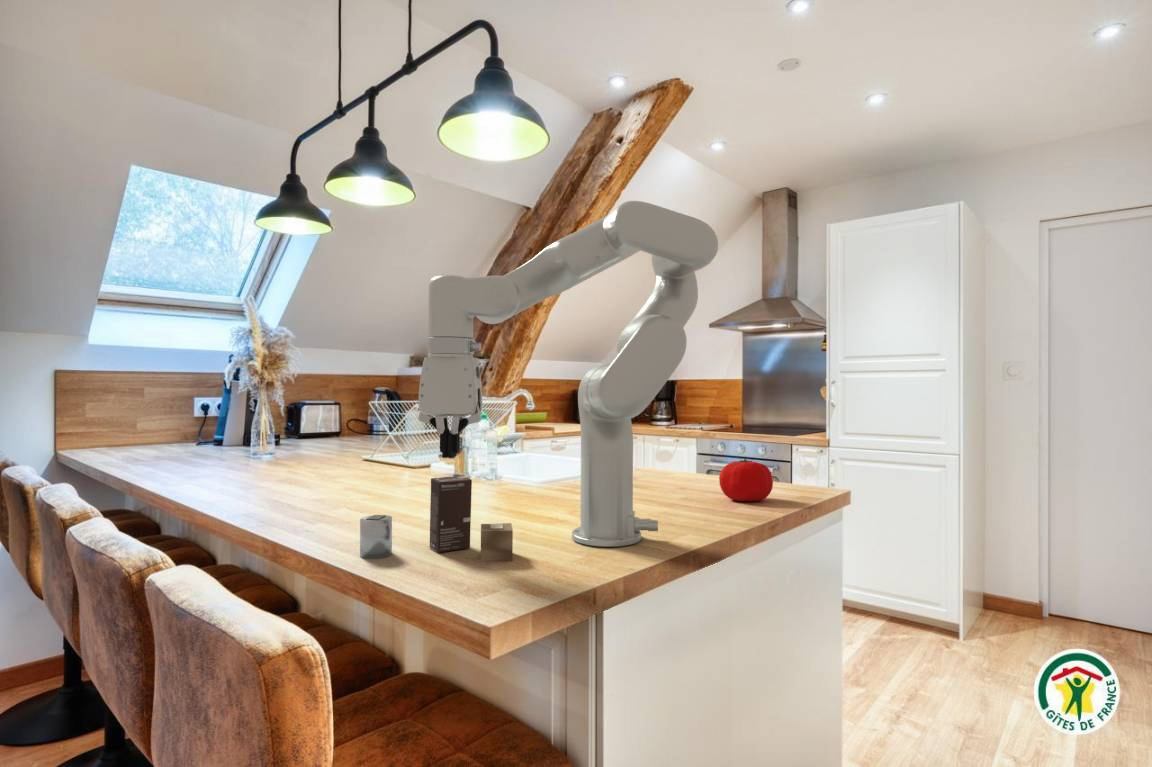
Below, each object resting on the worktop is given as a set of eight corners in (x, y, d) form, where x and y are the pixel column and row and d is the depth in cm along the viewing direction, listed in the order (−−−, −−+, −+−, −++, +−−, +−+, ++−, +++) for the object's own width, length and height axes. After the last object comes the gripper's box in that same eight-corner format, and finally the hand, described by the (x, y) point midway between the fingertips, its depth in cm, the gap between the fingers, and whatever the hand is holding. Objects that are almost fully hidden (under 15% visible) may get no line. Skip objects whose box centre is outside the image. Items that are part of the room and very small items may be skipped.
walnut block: (511, 553, 103) (511, 521, 103) (512, 561, 98) (512, 529, 98) (480, 554, 102) (481, 522, 102) (480, 562, 97) (480, 530, 97)
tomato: (778, 505, 143) (779, 461, 143) (724, 504, 144) (724, 460, 144) (764, 496, 155) (764, 455, 155) (713, 495, 155) (714, 455, 155)
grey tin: (396, 551, 103) (396, 514, 103) (384, 559, 98) (384, 520, 98) (368, 550, 104) (368, 513, 104) (354, 558, 99) (354, 519, 99)
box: (438, 554, 101) (438, 481, 101) (429, 548, 105) (429, 477, 105) (472, 549, 105) (472, 478, 105) (462, 543, 109) (462, 475, 108)
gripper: (498, 350, 108) (497, 455, 108) (416, 350, 109) (415, 453, 109) (487, 348, 100) (486, 460, 100) (399, 348, 102) (398, 458, 102)
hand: (449, 456), depth 105 cm, fingers closed
